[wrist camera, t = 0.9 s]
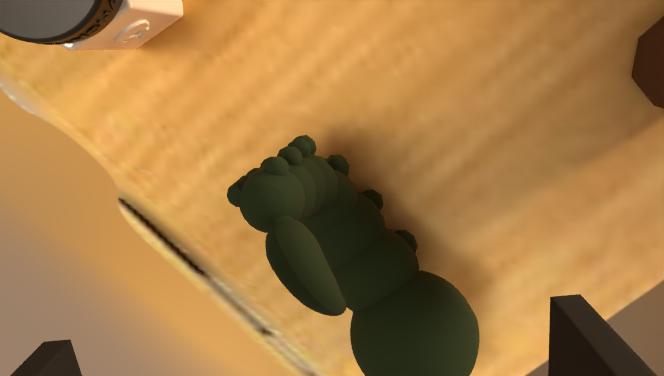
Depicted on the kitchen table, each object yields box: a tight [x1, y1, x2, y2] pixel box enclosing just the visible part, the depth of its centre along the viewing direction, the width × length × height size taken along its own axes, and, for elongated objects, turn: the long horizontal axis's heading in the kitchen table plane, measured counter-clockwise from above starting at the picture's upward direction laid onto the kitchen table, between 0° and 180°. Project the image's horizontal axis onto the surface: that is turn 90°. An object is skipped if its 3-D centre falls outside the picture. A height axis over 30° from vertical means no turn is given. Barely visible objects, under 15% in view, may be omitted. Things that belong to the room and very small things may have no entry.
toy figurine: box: [227, 135, 479, 376], centre depth 32 cm, size 9×19×25 cm
